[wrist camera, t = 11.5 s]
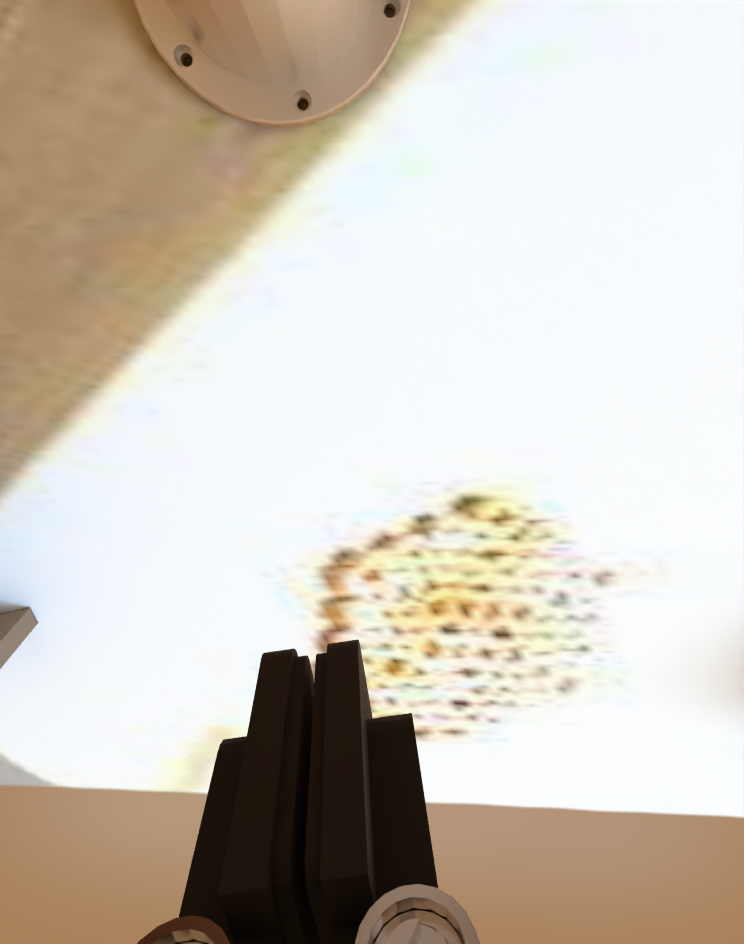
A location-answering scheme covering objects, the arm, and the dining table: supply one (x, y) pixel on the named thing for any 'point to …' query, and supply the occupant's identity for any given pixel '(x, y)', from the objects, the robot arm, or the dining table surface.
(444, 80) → the dining table surface
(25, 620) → the box
